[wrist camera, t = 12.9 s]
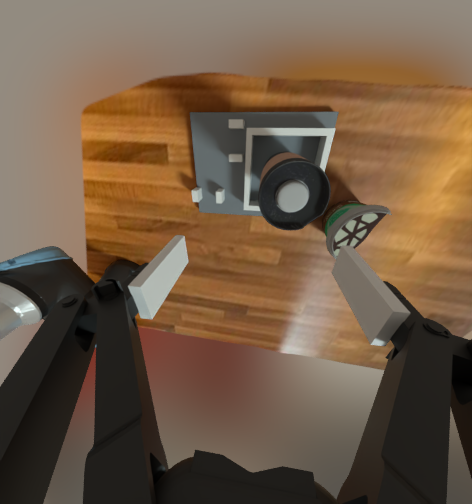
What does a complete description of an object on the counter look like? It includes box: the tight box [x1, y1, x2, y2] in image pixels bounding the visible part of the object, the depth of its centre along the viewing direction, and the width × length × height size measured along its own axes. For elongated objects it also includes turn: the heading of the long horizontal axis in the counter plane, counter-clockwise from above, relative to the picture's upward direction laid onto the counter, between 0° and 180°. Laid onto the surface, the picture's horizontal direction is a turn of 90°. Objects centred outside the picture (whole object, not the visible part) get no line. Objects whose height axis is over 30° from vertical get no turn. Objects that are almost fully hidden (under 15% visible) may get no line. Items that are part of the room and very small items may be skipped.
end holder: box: [244, 128, 336, 211], centre depth 34 cm, size 14×14×4 cm
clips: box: [192, 119, 245, 204], centre depth 35 cm, size 10×14×3 cm
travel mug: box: [258, 152, 331, 230], centre depth 27 cm, size 8×8×20 cm
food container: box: [322, 200, 392, 259], centre depth 36 cm, size 12×6×10 cm, turn 159°
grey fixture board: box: [190, 112, 338, 216], centre depth 37 cm, size 26×19×2 cm
